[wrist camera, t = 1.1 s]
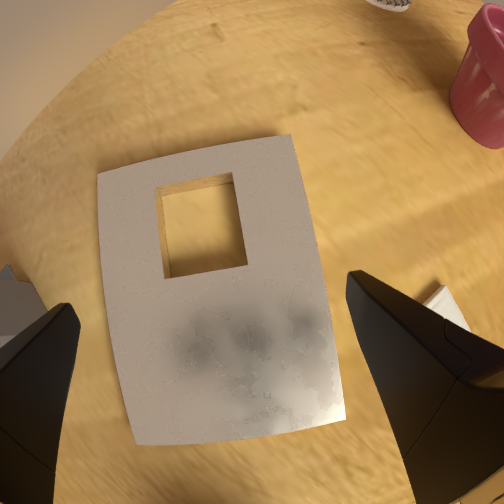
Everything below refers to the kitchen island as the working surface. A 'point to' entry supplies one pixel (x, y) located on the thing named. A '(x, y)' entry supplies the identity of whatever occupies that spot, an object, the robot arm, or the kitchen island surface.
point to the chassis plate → (218, 303)
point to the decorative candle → (391, 4)
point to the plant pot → (482, 79)
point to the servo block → (17, 305)
